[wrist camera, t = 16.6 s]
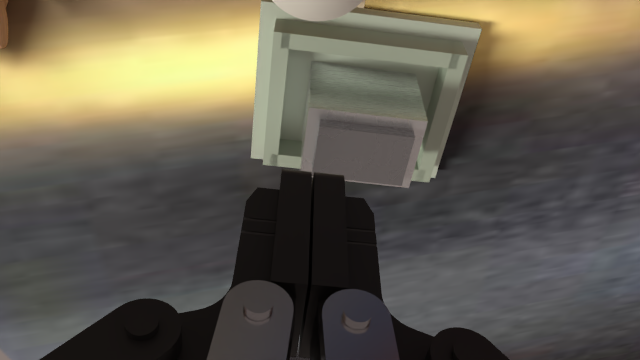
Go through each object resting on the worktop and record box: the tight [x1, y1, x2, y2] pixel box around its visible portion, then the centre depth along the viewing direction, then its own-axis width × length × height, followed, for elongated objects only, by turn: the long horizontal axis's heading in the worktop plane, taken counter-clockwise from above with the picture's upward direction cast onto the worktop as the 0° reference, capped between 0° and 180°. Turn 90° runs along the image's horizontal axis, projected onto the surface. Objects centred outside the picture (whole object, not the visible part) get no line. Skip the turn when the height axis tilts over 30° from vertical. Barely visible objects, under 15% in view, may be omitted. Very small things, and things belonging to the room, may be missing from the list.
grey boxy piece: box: [300, 61, 428, 188], centre depth 37 cm, size 5×7×7 cm
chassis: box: [251, 0, 482, 182], centre depth 39 cm, size 12×14×3 cm
